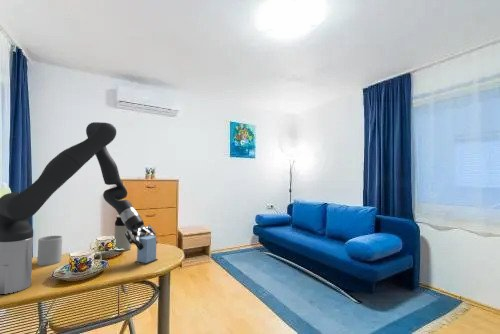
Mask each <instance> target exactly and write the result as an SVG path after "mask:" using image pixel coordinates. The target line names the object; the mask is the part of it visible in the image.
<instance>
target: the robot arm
mask: <svg viewBox="0 0 500 334" xmlns="http://www.w3.org/2000/svg"><path fill="white" fill-rule="evenodd" d="M85 134H86V137H87V138H86V139H85V140H83V141H81V142H78V143H76V144H73V145H71V146H69V147H68V148H66V149H63V150H62V151H61V152H59V153H58V154H57V155H56V156H54V157H53V158H52V159H51V160H50V161H49V162H48V163H47V164H46V165H45V167H44V169H43V170H42V172H41V174H40V175H39V177H38V178H37V179H35V181H34V182H32V183H31V184H30V185H29V186H27V187H26V188H25V189H24V190H22V191H20V192H9V193H6V194H3V195H2V196H0V294H7V293H10V294H12V293H13V292H14V293H17V291H18V292H20V291H23V290H24V291H25V290H26V289H28V288H29V287H30V286H32V276H33V275H32V270H33V267H32V266H33V250H34V249H33V248H34V247H33V246H34V229H33V228H32V226H31V224H30V221H29V220H30V218H31V217H34V215H35V214H36V213H38V211H39V210H40V209H41V208H42V207H43V206H44V205H45V203H46V202H47V201H48V200H49V199H50V197H52V195H53V194H55V193H56V191H57V190H59V189H60V188H61V187H62V186H63V185H64V184H65V183H66V182H68V180H69V179H71V178H72V177H73V176H74V175H76V173H77V172H78V171H80V170H81V168H82V167H83V166H84V165H86V164H87V163H88V162H89V161H90V160H91V159H92V158H93V157H94V156H95V157H96V159H97V161H98V164H99V167H100V170H101V175H102V178H103V182H104V185H108V186H113V185H115V186H114V187H110V188H108V189H106V190H104V191H103V193H102V196H103V199H104V200H105V202H106V203H107V204H108V205H110V206H111V207H112V208H113V209H115V211H116V212H117V215H120V217H121V219H122V221H123V223H124V224H125V226H126V228H127V229H128V231H127V232H126V233H125V236H126V237H127V239H128V241H129V243H130V244H131V245H132V244H134V245H135V246H136V248H138V249H139V250H142V249H143V245H142V244H141V242H140V241H139V237H143V236H146V235H149V236H156V235H157V232H156V231H155V229H154V228H153V226H152V225H151V224H148V225H147V226H145V222H144V220H143V219H142V217H141V216H140V214H139V212H138V211H137V210H136V209H135V207H134V206H133V205H132V203H131V201H130V200H128V199H125V198H127V196H128V190H127V188H126V186H125V185H124V183H123V182H122V179H121V178H120V177H121V176H120V173H119V169H118V165H117V163H116V162H115V160H114V158H113V157H112V156H111V154H110V153H109V150H108V149H107V146H108V145H109V144H110V143H112V142H113V141H114V140H115V138H116V137H117V136H116V135H117V128H116V127H115V126H114V124H111V123H109V122H97V121H95V122H90V123H88V124H87V126H86V129H85ZM14 293H13V294H14ZM7 295H8V294H7Z"/></svg>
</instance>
